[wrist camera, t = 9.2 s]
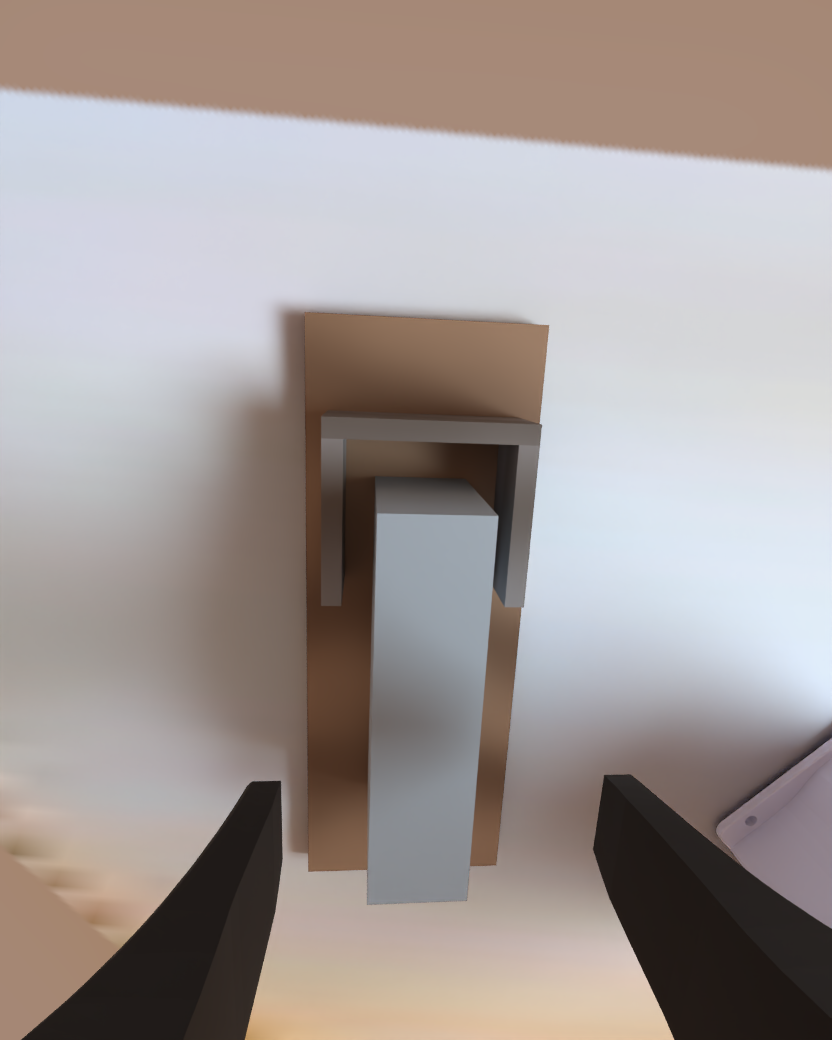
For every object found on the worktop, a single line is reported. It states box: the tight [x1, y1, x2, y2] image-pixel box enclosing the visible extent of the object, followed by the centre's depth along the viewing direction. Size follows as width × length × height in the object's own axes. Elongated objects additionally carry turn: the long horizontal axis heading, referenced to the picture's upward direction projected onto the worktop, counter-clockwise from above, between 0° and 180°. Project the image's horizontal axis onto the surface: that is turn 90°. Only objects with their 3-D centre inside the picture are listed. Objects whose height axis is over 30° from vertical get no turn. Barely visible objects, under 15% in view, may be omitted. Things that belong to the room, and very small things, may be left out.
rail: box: [367, 476, 499, 905], centre depth 18 cm, size 12×3×5 cm, turn 177°
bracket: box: [305, 312, 549, 872], centre depth 19 cm, size 21×8×3 cm, turn 177°
